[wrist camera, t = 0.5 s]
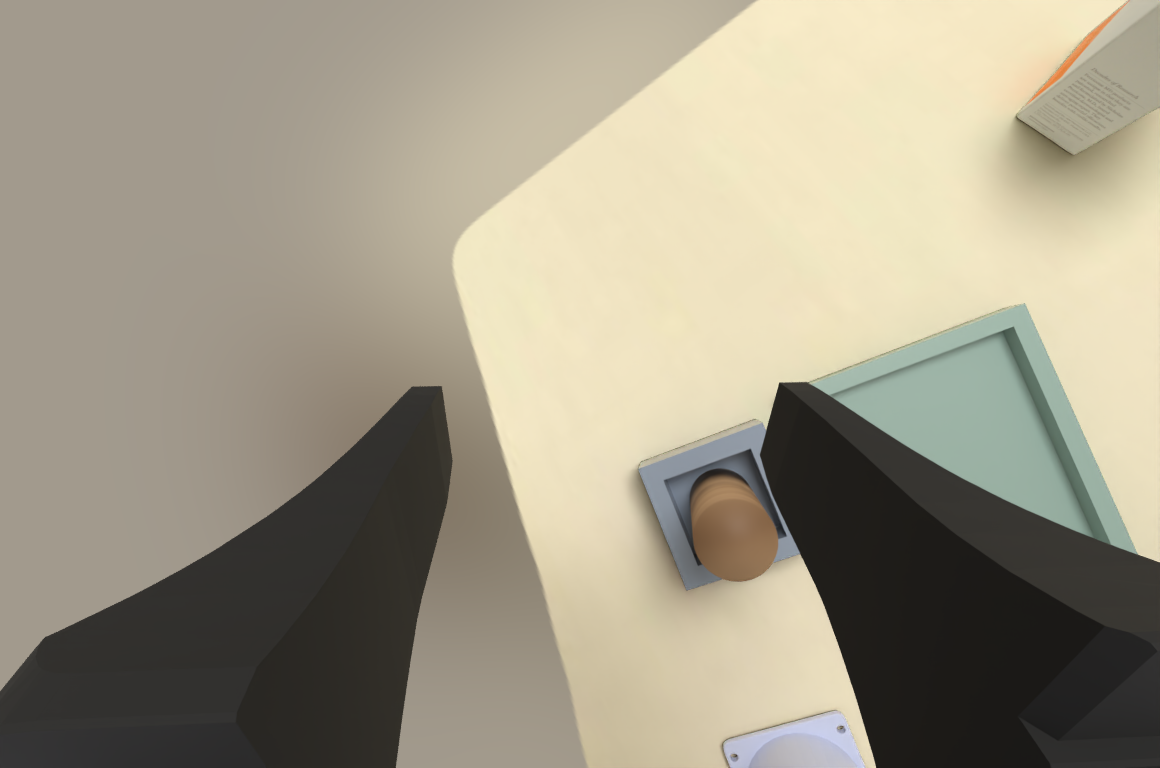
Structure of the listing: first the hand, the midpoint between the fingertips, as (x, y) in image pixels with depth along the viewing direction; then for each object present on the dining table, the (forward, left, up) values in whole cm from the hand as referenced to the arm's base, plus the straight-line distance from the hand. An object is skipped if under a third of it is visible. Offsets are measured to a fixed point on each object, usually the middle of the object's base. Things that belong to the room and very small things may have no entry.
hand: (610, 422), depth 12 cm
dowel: (-8, -1, -24) cm, 26 cm away
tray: (-12, -14, -25) cm, 31 cm away
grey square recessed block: (-8, -1, -25) cm, 26 cm away
